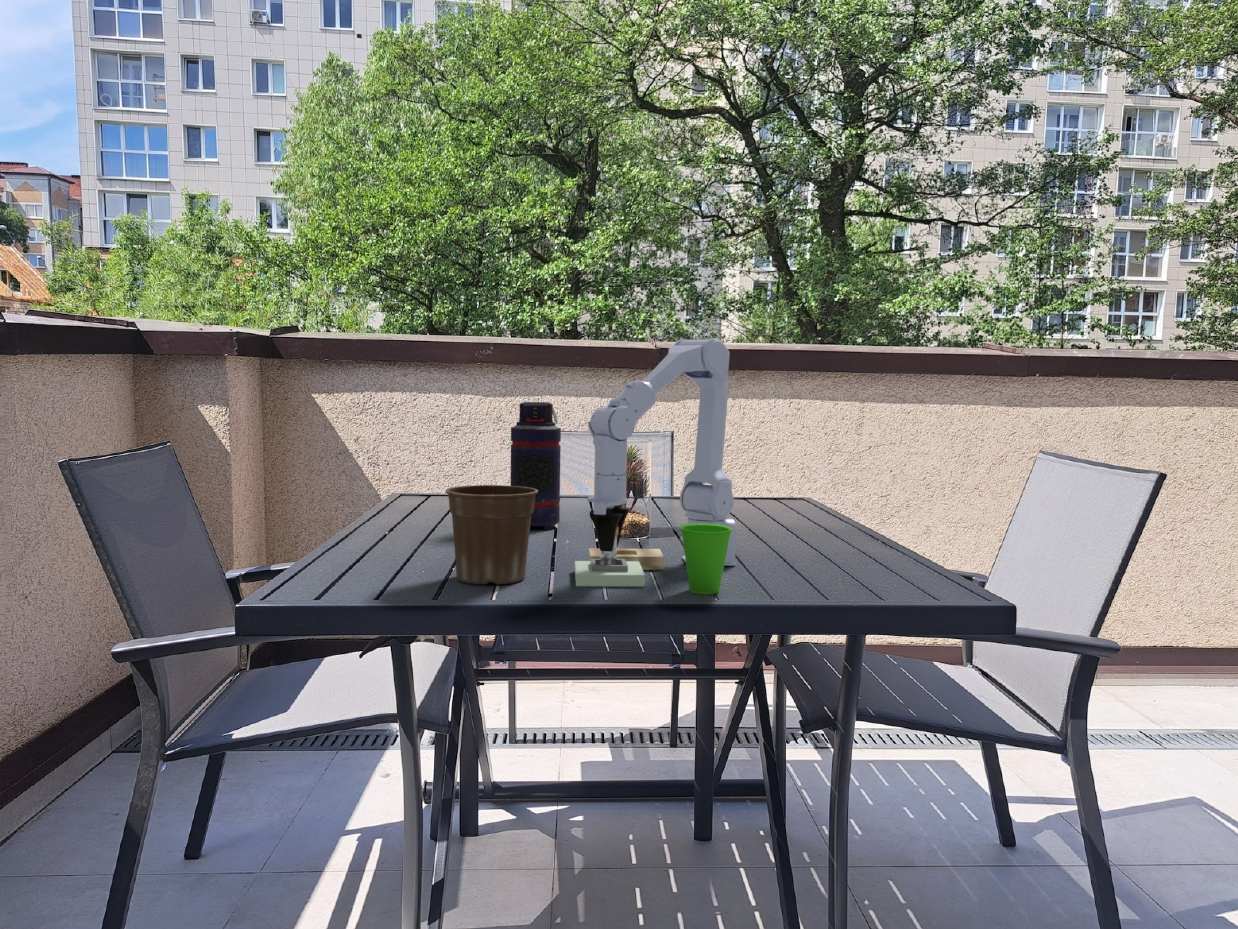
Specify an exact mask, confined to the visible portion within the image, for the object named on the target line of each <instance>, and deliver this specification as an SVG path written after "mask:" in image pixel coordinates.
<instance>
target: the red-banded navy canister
mask: <svg viewBox="0 0 1238 929" xmlns="http://www.w3.org/2000/svg"><path fill="white" fill-rule="evenodd" d="M518 418H519V419H518V421H517V422H516V424H515V425H514V426H511V428H510V442H511V444H510V486H520V487H529V488H534V489H537V490H538V493H537V494H536V495H535V501H534V511H533V513H532V514H531V522H530V527H544V530H545V531H549V530H548V529H550V530H553V528H554V527H553V526H556V525H558V524H559V523H560V520H561V519H560V518H561V517H560V516H561V515H560V512H561V508H560V507H561V505H560V503H559V502H560V501H561V449H562V448H561V445H560V442H561V439H562V438H561V436H562V432H561V431H562V429H561V427H558V426H556V425H558V418H557V414H556V411H555V409H554V406H553V403H552V402H540V401H523V402H521V403H519V417H518ZM553 419H554V420H553Z"/></svg>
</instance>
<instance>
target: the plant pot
mask: <svg viewBox="0 0 1238 929" xmlns="http://www.w3.org/2000/svg"><path fill="white" fill-rule="evenodd" d="M445 493H446V494H447V496H448V504H449V505H448V506H449V513H450V514H451V519H452V520H451V521H452V530H453V542H454V543H453V544H454V556H455V570H456V571H455V572H456V573H455V574H456V578H457V580H459V581H460V582H463V583H466V584H471V585H488V583H494V584H495V585H506V584H508V585H509V584H516V583H518V582H521V581H523V580H524V579H525V578H526V573H527V572H526V571H527V559H528V550H529V549H528V548H529V539H530V533H531V532H530V531H531V530H530V529H531V526H530V522H531V514H532V513H533V511H534V501H535V495H536V494H537V493H538V490H537V489H534V488H529V487H520V486H511V485H504V484H503V485H501V484H498V485H497V484H482V485H480V484H477V485H475V484H474V485H463V486H462V485H461V486H458V485H457V486H452V487H448V488H446V489H445Z"/></svg>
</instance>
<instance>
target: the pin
mask: <svg viewBox="0 0 1238 929" xmlns="http://www.w3.org/2000/svg"><path fill="white" fill-rule="evenodd" d="M617 535H618V526H617V529H616V534H615V541H614V546H613V550H612V551H611V552H609V551H600V565H616V560H617V549H618V547H617Z"/></svg>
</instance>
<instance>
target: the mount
mask: <svg viewBox="0 0 1238 929" xmlns="http://www.w3.org/2000/svg"><path fill="white" fill-rule="evenodd" d="M590 559H600V547H599V548H597V547H596V548H594V547H593V548H592V547H591V548H588V561H590ZM617 559H625V560H626V561H639V563H640V565H641V567H642V569H643V571H644V570H648V571H649V570H651V571H656V570H658V571H659V570H660V571H661V570H664V569H665V555H664V554H663V552H662V551H661V549H660V548H617Z"/></svg>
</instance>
